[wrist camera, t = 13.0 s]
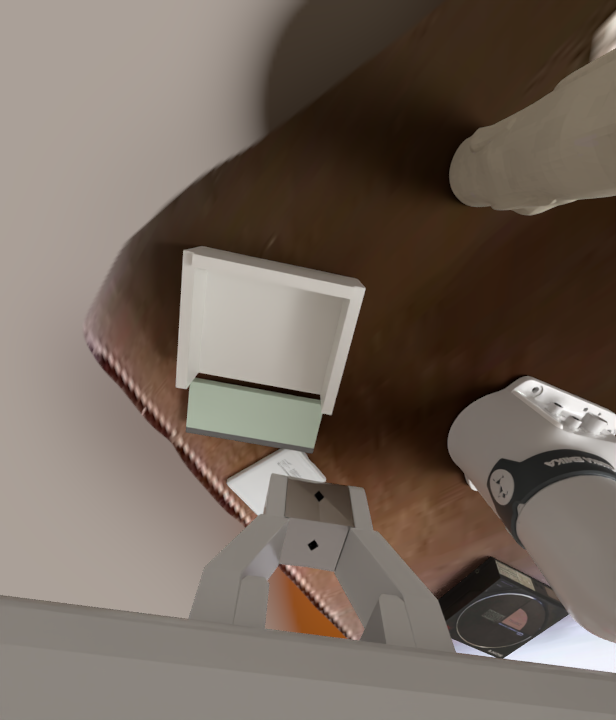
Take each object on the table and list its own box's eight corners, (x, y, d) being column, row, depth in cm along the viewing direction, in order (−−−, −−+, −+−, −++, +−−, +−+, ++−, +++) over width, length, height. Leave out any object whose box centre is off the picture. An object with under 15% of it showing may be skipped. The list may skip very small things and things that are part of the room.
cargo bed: (357, 278, 39) (367, 290, 32) (328, 390, 44) (331, 419, 38) (202, 246, 37) (179, 251, 31) (192, 365, 43) (172, 391, 36)
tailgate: (324, 405, 43) (312, 453, 45) (324, 400, 44) (312, 447, 47) (189, 381, 41) (185, 432, 44) (193, 376, 43) (188, 426, 45)
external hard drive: (228, 475, 51) (294, 437, 48) (260, 509, 53) (325, 475, 50) (225, 483, 49) (294, 445, 46) (259, 517, 52) (326, 482, 49)
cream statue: (515, 106, 32) (1787, -601, 4) (533, 194, 35) (1367, 94, 7) (430, 151, 34) (995, -175, 6) (454, 232, 37) (906, 265, 9)
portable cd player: (557, 586, 60) (573, 610, 56) (490, 635, 66) (501, 659, 62) (491, 552, 57) (503, 575, 53) (426, 606, 62) (433, 630, 59)
